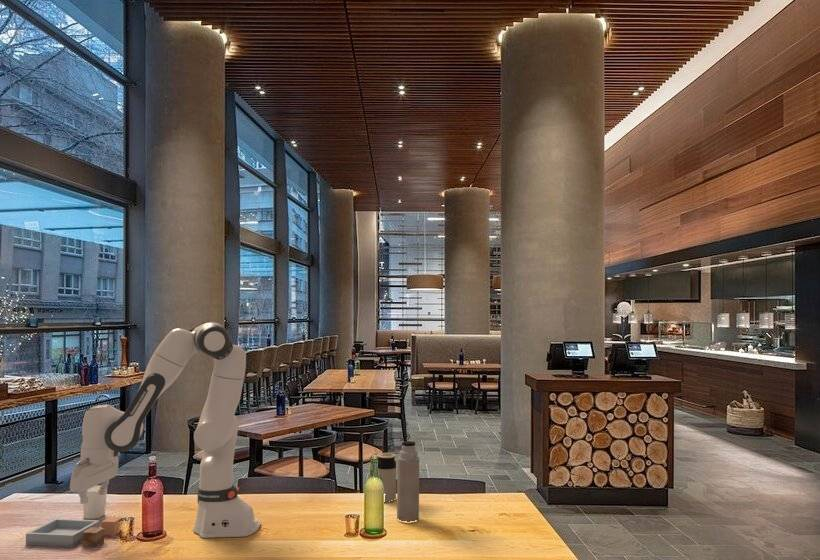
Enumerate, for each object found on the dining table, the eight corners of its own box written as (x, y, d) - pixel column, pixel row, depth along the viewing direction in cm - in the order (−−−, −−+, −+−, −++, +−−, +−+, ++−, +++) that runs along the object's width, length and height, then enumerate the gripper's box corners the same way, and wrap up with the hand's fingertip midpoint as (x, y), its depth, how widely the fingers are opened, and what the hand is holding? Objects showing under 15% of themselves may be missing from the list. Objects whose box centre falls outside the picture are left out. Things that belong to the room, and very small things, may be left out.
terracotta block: (121, 530, 204) (122, 517, 205) (113, 535, 200) (114, 522, 200) (109, 530, 205) (109, 516, 205) (101, 535, 200) (101, 521, 201)
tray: (99, 530, 204) (99, 520, 204) (72, 546, 190) (72, 535, 190) (55, 529, 205) (55, 518, 205) (25, 544, 191) (26, 533, 191)
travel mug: (391, 496, 245) (392, 451, 246) (398, 501, 238) (399, 456, 239) (373, 498, 242) (373, 453, 243) (379, 504, 235) (380, 457, 236)
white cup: (95, 520, 214) (96, 492, 215) (76, 518, 216) (77, 490, 216) (111, 513, 222) (112, 486, 222) (92, 511, 223) (93, 484, 224)
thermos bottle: (392, 519, 218) (393, 441, 219) (410, 514, 223) (410, 438, 224) (405, 525, 211) (406, 445, 213) (423, 520, 216) (423, 442, 218)
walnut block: (103, 541, 194) (104, 527, 195) (95, 547, 190) (95, 532, 190) (90, 541, 195) (91, 527, 195) (82, 546, 190) (82, 532, 191)
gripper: (84, 463, 183) (82, 509, 182) (122, 448, 204) (120, 490, 203) (65, 462, 184) (62, 508, 183) (105, 448, 204) (102, 489, 203)
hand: (93, 498), depth 193 cm, fingers open, 8 cm apart
